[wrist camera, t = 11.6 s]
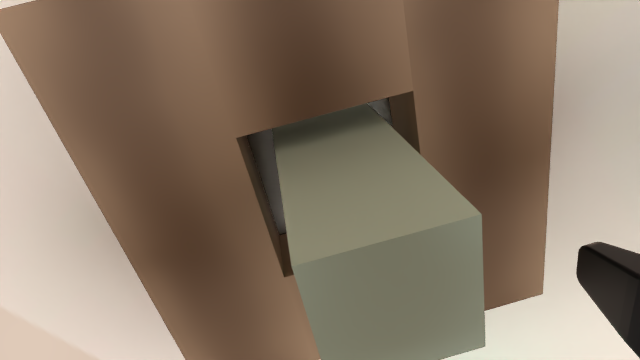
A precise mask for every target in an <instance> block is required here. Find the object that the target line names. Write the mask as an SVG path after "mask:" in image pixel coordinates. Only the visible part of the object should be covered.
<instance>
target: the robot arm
mask: <svg viewBox="0 0 640 360" xmlns="http://www.w3.org/2000/svg"><path fill="white" fill-rule="evenodd" d="M576 274H577V278H578V281H579V283H580V284H581V286H582V287H583V288H584V289H585V291H586V292H587V293H588V295H589V296H590V297H591V299H592V300H593V301H594V302H595V304H596V305H597V306H598V308H599V309H600V310H601V312H602V313H603V314H604V315H605V317H606V318H607V319H608V321H609V322H610V323H611V325H612V326H613V327H614V328H615V330H616V331H617V332H618V334H619V335H620V336H621V337H622V338H623V340H624V341H625V342H626V343H627V344H628V346H629V347H630V348H631V349H632V350H633V351H634V352H635V353H636V354H637V356H638V357H639V358H640V254H638V253H635V252H632V251H628V250H625V249H622V248H619V247H616V246H612V245H609V244H606V243H602V242H594V243H591V244H588V245H584V246H582V247H581V248H580V249H579V252H578V262H577V272H576Z"/></svg>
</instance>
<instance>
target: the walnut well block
mask: <svg viewBox="0 0 640 360" xmlns="http://www.w3.org/2000/svg"><path fill="white" fill-rule="evenodd" d="M558 5H559V0H35V1H31V2H27V3H23V4H19V5H15V6H11V7H7V8H3V9H0V33H1V35H2V37H3V39H4V40H5V42H6V44H7V46H8V47H9V49H10V51H11V53H12V54H13V56H14V58H15V60H16V62H17V63H18V65H19V67H20V69H21V70H22V72H23V74H24V76H25V77H26V79H27V81H28V83H29V84H30V86H31V88H32V90H33V91H34V93H35V95H36V97H37V99H38V100H39V102H40V104H41V106H42V107H43V109H44V111H45V113H46V114H47V116H48V118H49V120H50V121H51V123H52V125H53V127H54V129H55V130H56V132H57V134H58V136H59V137H60V139H61V141H62V143H63V144H64V146H65V148H66V150H67V151H68V153H69V155H70V157H71V158H72V160H73V162H74V164H75V166H76V167H77V169H78V171H79V173H80V174H81V176H82V178H83V180H84V181H85V183H86V185H87V187H88V188H89V190H90V192H91V194H92V196H93V197H94V199H95V201H96V203H97V204H98V206H99V208H100V210H101V211H102V213H103V215H104V217H105V218H106V220H107V222H108V224H109V226H110V227H111V229H112V231H113V233H114V234H115V236H116V238H117V240H118V241H119V243H120V245H121V247H122V248H123V250H124V252H125V254H126V255H127V257H128V259H129V261H130V263H131V264H132V266H133V268H134V270H135V271H136V273H137V275H138V277H139V278H140V280H141V282H142V284H143V285H144V287H145V289H146V291H147V293H148V294H149V296H150V298H151V300H152V301H153V303H154V305H155V307H156V308H157V310H158V312H159V314H160V315H161V317H162V319H163V321H164V323H165V324H166V326H167V328H168V330H169V331H170V333H171V335H172V337H173V338H174V340H175V342H176V344H177V345H178V347H179V349H180V351H181V352H182V354H183V356H184V358H185V360H319V359H321V358H320V355H319V352H318V349H317V345H316V342H315V339H314V336H313V333H312V330H311V326H310V323H309V320H308V317H307V314H306V311H305V307H304V304H303V301H302V298H301V295H300V292H299V289H298V285H297V282H296V279H295V276H294V273H293V270H292V266H291V259H290V252H289V245H288V239H287V233H286V234H282V235H279V233H278V230H277V227H276V224H275V221H274V218H273V215H272V212H271V209H270V206H269V202H268V199H267V196H266V193H265V190H264V187H263V184H262V181H261V178H260V175H259V172H258V169H257V166H256V163H255V160H254V157H253V154H252V151H251V148H250V145H249V142H248V139H247V136H246V135H249V134H253V133H256V132H260V131H264V130H268V129H271V128H275V127H279V126H283V125H286V124H290V123H294V122H298V121H301V120H305V119H309V118H313V117H316V116H320V115H324V114H328V113H331V112H335V111H339V110H343V109H346V108H350V107H354V106H358V105H361V104H365V103H369V102H373V101H376V100H380V99H384V98H388V97H389V101H390V108H391V115H392V122H393V129H394V130H395V131H396V132H397V133H398V134H400V135H401V136H402V137H403V138H404V139H405V140H406V141H407V142H408V143H409V144H410V145H411V146H412V147H413V148H414V149H415V150H416V151H417V152H418V153H419V154H420V155H421V156H422V157H423V158H424V159H425V160H426V161H427V162H428V163H429V164H431V165H432V166H433V167H434V168H435V169H436V170H437V171H438V172H439V173H440V174H441V175H442V176H443V177H444V178H445V179H446V180H447V181H448V182H449V183H450V184H451V185H452V186H453V187H454V188H455V189H456V190H457V191H458V192H459V193H460V194H461V195H463V196H464V197H465V198H466V199H467V200H468V201H469V202H470V203H471V204H472V205H473V206H474V207H475V208H476V209H477V210H478V211H479V212H480V213H481V214H482V242H483V279H484V311H486V310H489V309H493V308H496V307H500V306H503V305H506V304H510V303H513V302H517V301H520V300H524V299H527V298H530V297H534V296H537V295H541V294H543V280H544V262H545V243H546V225H547V207H548V188H549V170H550V152H551V133H552V115H553V97H554V78H555V60H556V42H557V23H558Z"/></svg>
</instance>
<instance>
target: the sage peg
mask: <svg viewBox="0 0 640 360" xmlns="http://www.w3.org/2000/svg"><path fill="white" fill-rule="evenodd" d="M272 134H273V141H274V148H275V155H276V162H277V169H278V176H279V183H280V190H281V197H282V204H283V211H284V218H285V225H286V232H287V239H288V245H289V252H290V259H291V266H292V270H293V273H294V276H295V279H296V282H297V285H298V289H299V292H300V295H301V298H302V301H303V304H304V307H305V311H306V314H307V317H308V320H309V323H310V326H311V330H312V333H313V336H314V339H315V342H316V345H317V349H318V352H319V355H320V358H321V360H440V359H444V358H447V357H451V356H454V355H458V354H461V353H465V352H468V351H471V350H475V349H478V348H482V347H485V315H484V279H483V242H482V214H481V213H480V212H479V211H478V210H477V209H476V208H475V207H474V206H473V205H472V204H471V203H470V202H469V201H468V200H467V199H466V198H465V197H464V196H463V195H461V194H460V193H459V192H458V191H457V190H456V189H455V188H454V187H453V186H452V185H451V184H450V183H449V182H448V181H447V180H446V179H445V178H444V177H443V176H442V175H441V174H440V173H439V172H438V171H437V170H436V169H435V168H434V167H433V166H432V165H431V164H429V163H428V162H427V161H426V160H425V159H424V158H423V157H422V156H421V155H420V154H419V153H418V152H417V151H416V150H415V149H414V148H413V147H412V146H411V145H410V144H409V143H408V142H407V141H406V140H405V139H404V138H403V137H402V136H401V135H400V134H398V133H397V132H396V131H395V130H394V129H393V128H392V127H391V126H390V125H389V124H388V123H387V122H386V121H385V120H384V119H383V118H382V117H381V116H380V115H379V114H378V113H377V112H376V111H375V110H374V109H373V108H372V107H371V106H370V105H369V104H368V103H365V104H361V105H358V106H354V107H350V108H346V109H343V110H339V111H335V112H331V113H328V114H324V115H320V116H316V117H313V118H309V119H305V120H301V121H298V122H294V123H290V124H286V125H283V126H279V127H275V128H272Z"/></svg>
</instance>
